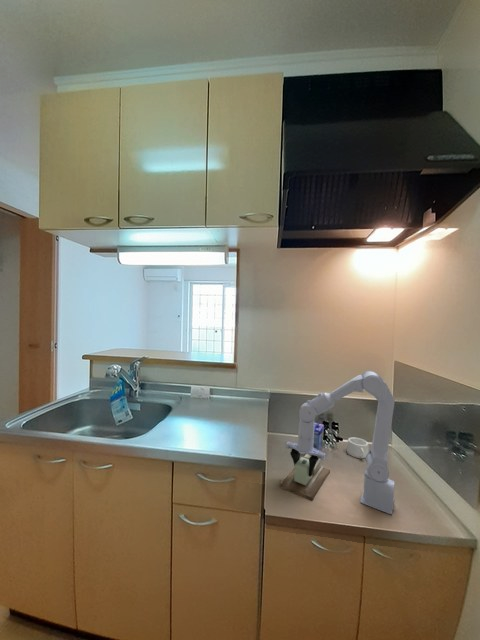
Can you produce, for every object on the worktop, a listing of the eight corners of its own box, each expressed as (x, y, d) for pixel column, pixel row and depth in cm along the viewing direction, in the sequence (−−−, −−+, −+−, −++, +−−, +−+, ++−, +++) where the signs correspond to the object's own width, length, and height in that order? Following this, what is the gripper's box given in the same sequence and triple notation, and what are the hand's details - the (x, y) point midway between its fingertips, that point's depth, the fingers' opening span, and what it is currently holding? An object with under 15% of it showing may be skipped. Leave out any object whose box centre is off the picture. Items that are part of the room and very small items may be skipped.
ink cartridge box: (318, 458, 123) (320, 426, 123) (306, 454, 125) (308, 423, 125) (322, 449, 132) (324, 419, 131) (311, 446, 134) (313, 416, 134)
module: (312, 476, 105) (313, 459, 104) (305, 485, 99) (307, 467, 99) (300, 472, 107) (301, 455, 107) (293, 480, 101) (295, 462, 101)
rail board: (329, 472, 112) (331, 453, 112) (312, 500, 93) (313, 477, 93) (301, 462, 118) (302, 444, 118) (279, 486, 100) (281, 465, 100)
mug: (343, 448, 135) (344, 435, 135) (363, 450, 134) (364, 437, 134) (351, 460, 123) (352, 447, 123) (374, 462, 122) (375, 449, 122)
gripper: (283, 434, 103) (281, 470, 104) (322, 445, 96) (319, 485, 96) (290, 428, 109) (288, 462, 109) (327, 439, 101) (325, 475, 102)
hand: (303, 472), depth 103 cm, fingers open, 5 cm apart
